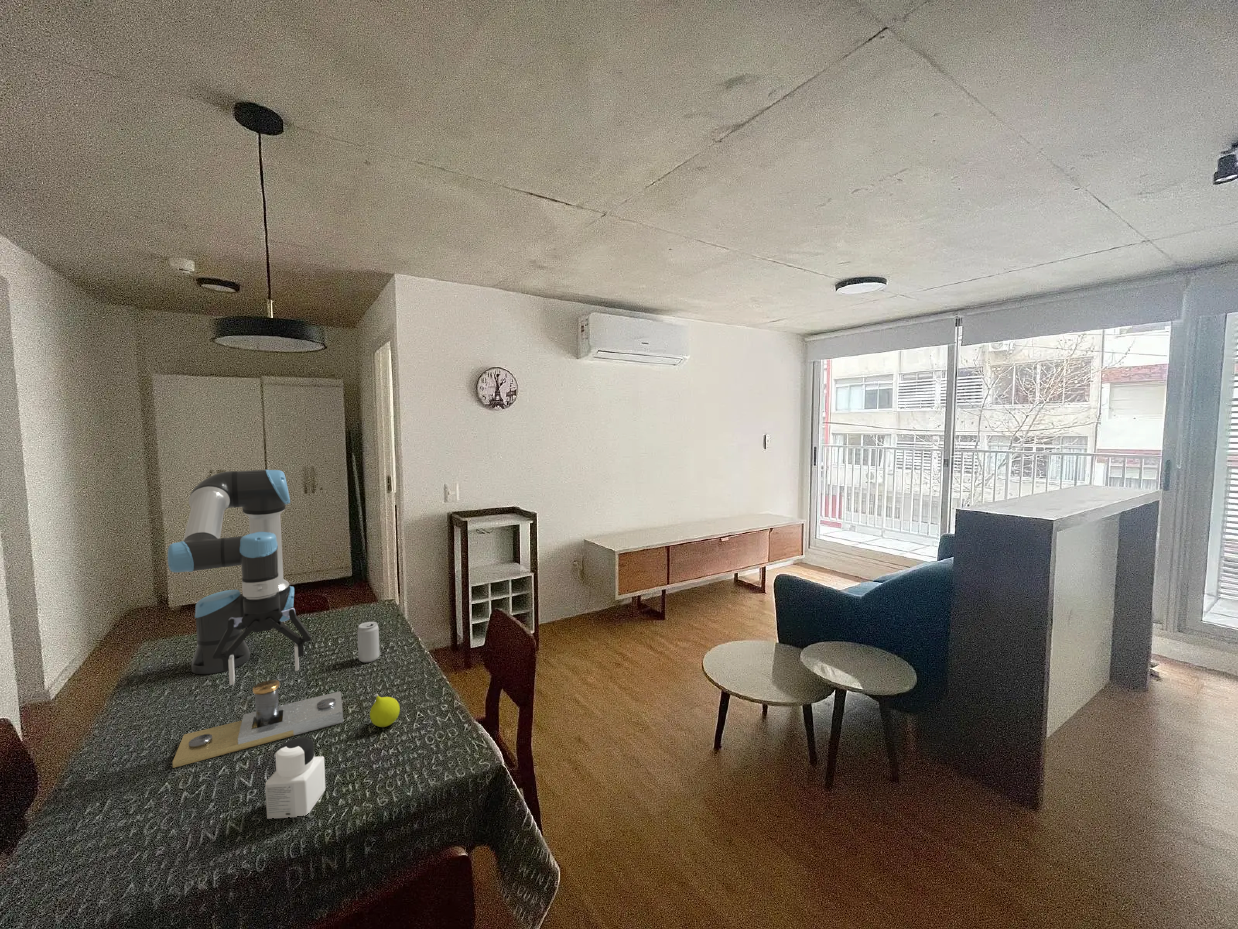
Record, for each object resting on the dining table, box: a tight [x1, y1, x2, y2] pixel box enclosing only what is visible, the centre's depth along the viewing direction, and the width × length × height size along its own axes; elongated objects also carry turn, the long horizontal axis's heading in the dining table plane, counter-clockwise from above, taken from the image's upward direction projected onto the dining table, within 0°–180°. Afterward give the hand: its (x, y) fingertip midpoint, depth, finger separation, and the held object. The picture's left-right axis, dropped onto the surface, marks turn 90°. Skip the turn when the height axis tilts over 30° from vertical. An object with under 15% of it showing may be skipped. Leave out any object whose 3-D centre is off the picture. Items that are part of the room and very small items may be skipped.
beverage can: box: [356, 621, 381, 663], centre depth 168 cm, size 6×6×12 cm
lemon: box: [369, 693, 401, 728], centre depth 131 cm, size 7×7×10 cm
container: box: [265, 736, 326, 820], centre depth 103 cm, size 8×8×13 cm
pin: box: [252, 679, 280, 728], centre depth 128 cm, size 6×6×12 cm
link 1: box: [172, 715, 295, 768], centre depth 125 cm, size 12×23×2 cm, turn 122°
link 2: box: [238, 690, 344, 744], centre depth 131 cm, size 12×22×4 cm, turn 122°
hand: (265, 675), depth 128 cm, fingers open, 13 cm apart
